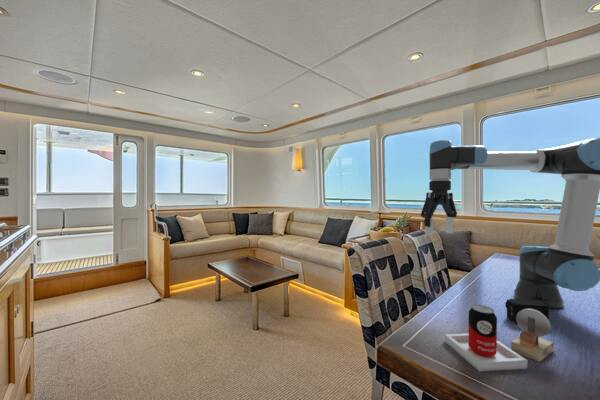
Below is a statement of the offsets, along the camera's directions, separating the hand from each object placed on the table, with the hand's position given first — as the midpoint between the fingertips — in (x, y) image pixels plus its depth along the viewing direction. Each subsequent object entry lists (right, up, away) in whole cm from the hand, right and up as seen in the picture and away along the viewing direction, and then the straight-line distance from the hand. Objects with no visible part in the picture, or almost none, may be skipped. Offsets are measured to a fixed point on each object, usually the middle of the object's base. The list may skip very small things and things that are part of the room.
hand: (439, 234), depth 101 cm
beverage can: (-5, -29, -31) cm, 42 cm away
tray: (-5, -29, -31) cm, 43 cm away
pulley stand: (+10, -29, -29) cm, 42 cm away
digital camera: (+24, -29, -12) cm, 39 cm away
